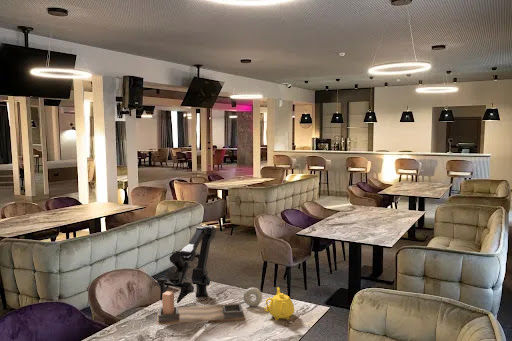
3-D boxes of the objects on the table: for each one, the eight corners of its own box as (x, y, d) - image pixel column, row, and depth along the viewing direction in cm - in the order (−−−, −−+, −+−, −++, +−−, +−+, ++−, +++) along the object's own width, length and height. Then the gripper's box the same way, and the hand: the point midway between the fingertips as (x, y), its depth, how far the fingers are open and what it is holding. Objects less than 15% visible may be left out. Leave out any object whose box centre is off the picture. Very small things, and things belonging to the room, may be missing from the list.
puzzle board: (158, 312, 209) (158, 303, 209) (240, 306, 216) (240, 297, 216) (156, 327, 192) (155, 318, 192) (245, 320, 199) (245, 311, 199)
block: (167, 314, 203) (166, 291, 201) (174, 315, 201) (173, 292, 200) (162, 318, 199) (162, 294, 198) (169, 319, 197) (169, 295, 196)
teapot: (262, 308, 214) (262, 287, 213) (290, 307, 215) (290, 285, 214) (267, 326, 194) (267, 302, 193) (298, 325, 195) (298, 301, 194)
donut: (262, 304, 218) (262, 286, 217) (262, 307, 214) (262, 289, 214) (243, 304, 218) (243, 286, 217) (243, 307, 215) (243, 288, 214)
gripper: (158, 262, 207) (145, 291, 197) (191, 266, 200) (179, 297, 191) (167, 273, 215) (155, 301, 205) (198, 277, 208) (188, 307, 199)
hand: (168, 301), depth 200 cm, fingers open, 9 cm apart
